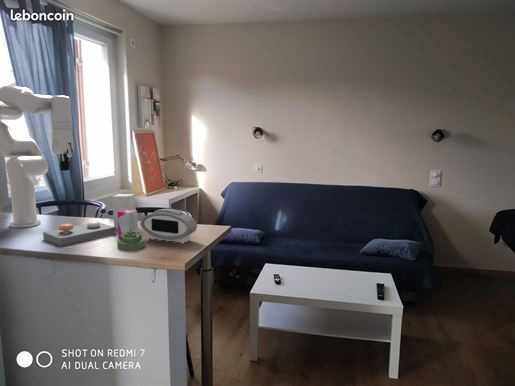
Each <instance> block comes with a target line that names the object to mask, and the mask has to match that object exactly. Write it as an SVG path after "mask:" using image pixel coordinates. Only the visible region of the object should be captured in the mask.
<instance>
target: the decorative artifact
mask: <svg viewBox="0 0 515 386" xmlns="http://www.w3.org/2000/svg"><path fill="white" fill-rule="evenodd" d="M116 243H117V244H116V245H117V249H118V250H122V251H136V250H140V249H143V248H144V247H145V239H144V237H142V234H141V233H138V234H136V232H134V231H131V229H130V231H127V233H126V234H124V235H121V236H120V239H119V238H118V239H117V241H116ZM142 247H143V248H142ZM135 249H136V250H135Z"/></svg>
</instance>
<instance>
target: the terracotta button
mask: <svg viewBox="0 0 515 386" xmlns="http://www.w3.org/2000/svg"><path fill="white" fill-rule="evenodd" d="M73 227H74V224H73V223H62V224H61V223H60V224H59V225H58V229H59V230H62V231H63V234H68V233H70V231H69V230H71V229H73Z"/></svg>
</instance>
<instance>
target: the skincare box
mask: <svg viewBox="0 0 515 386" xmlns="http://www.w3.org/2000/svg"><path fill="white" fill-rule="evenodd" d="M111 203H112V215H113V227H116V231H118V211H122V210H136V194H135V193H118V194H115V195H112V196H111Z"/></svg>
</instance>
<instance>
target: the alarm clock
mask: <svg viewBox="0 0 515 386" xmlns="http://www.w3.org/2000/svg"><path fill="white" fill-rule="evenodd" d="M140 226H141V228H142V229H143V231H144V232H146V233H147V234H148V239H149V238H151V239H150V240H154V239H158V240H157V241H161V240H166V241H165V242H169V241H176V242H183V243H182V244H185V243H184V242H186V241H188V240H189V241H190V236H189V235H191V234H193V233H194V232H195V231H197V228H198V224H197V221H196V220H195V218H193V217H192V216H191V215H189V214H188V213H185V212H183V211H181V210H179V209H175V208H161V209H156V210H154V211H153V212H152V213H149V214H146V215H145V216H143V217H142V218H141V221H140ZM189 241H188V242H189ZM176 242H175V243H176ZM186 243H187V242H186Z"/></svg>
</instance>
